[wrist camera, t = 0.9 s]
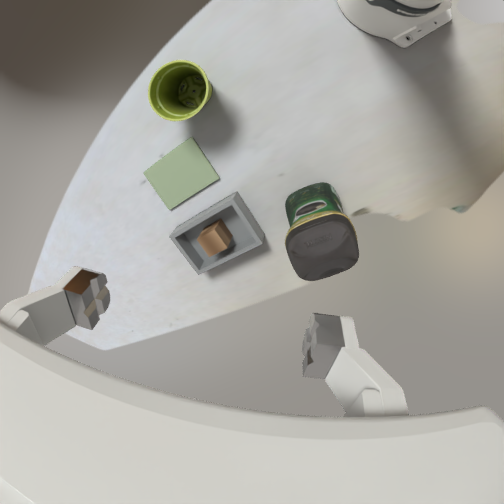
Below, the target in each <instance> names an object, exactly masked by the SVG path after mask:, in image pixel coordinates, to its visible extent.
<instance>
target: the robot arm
mask: <svg viewBox="0 0 504 504" xmlns="http://www.w3.org/2000/svg"><path fill="white" fill-rule="evenodd" d="M503 1H504V0H503ZM337 2H338V5H339V7H340V9H341V11H342V12H343V14H344V15H345V16H346V17H347V18H348V19H349V20H350V21H351V22H352V23H353V24H354V25H355V26H357V27H358V28H360V29H361V30H363V31H365V32H367V33H369V34H372V35H375V36H378V37H382V38H386V39H388V40H390V41H392V42H393V43H395V44H396V45H398V46H400V47H402V48H406V47H408V46H410V45H411V44H413V43H414V42H416V41H417V40H419V39H421V38H422V37H424V36H426V35H427V34H429V33H430V32H432V31H434V30H435V29H437V28H439V27H441V26H442V25H444V24H446V23H447V22H449V21H450V20H452V13H451V9H450V8H451V6H452V4H451V0H337ZM406 37H408V38H409V40H407V39H406ZM106 283H107V279H106V275H105V274H103V273H101V272H97V271H93V270H90V269H86V268H82V267H78V266H74V267H72V268H71V269H70V270H69V271H68V272H67V273H66V274H65V275H64V276H63V277H62V278H61V279H60V280H59V281H58V282H57V283H56V284H55V285H54V286H48V287H46V288H43V289H41V290H38V291H35V292H33V293H30V294H28V295H25V296H23V297H20V298H18V299H15V300H13V301H10V302H8V303H7V304H6V306H5V307H4V308H3V309H2V310H1V311H0V504H504V421H503V420H502V419H501V418H500V417H499V416H498V415H497V414H496V413H495V412H494V411H493V410H492V409H490V408H489V407H487V406H483V405H480V406H474V407H469V408H463V409H457V410H451V411H445V412H437V413H429V414H419V415H409V413H408V408H407V405H406V400H405V396H404V392H403V389H402V388H401V387H400V386H399V385H398V384H397V383H396V381H394V379H393V378H391V377H390V375H389V374H388V373H387V372H386V371H385V370H384V369H383V368H382V367H381V366H380V365H379V364H378V363H377V362H376V361H375V360H374V359H373V358H372V357H371V356H370V355H369V354H368V353H367V352H366V351H365V350H364V349H360V347H359V343H358V338H357V334H356V330H355V325H354V321H353V318H352V317H346V316H334V315H326V314H318V313H312V315H311V317H310V320H309V324H310V327H309V328H308V329H307V330H306V332H305V335H304V340H303V348H302V352H303V355H304V356H305V358H304V360H303V377H311V378H320V379H325V381H326V383H327V384H328V386H329V387H330V389H331V390H332V392H333V393H334V395H335V397H336V398H337V399H338V401H339V402H340V404H341V406H342V407H343V409H344V410H345V412H346V414H345V415H344V417H322V416H306V415H294V414H283V413H274V412H266V411H258V410H252V409H245V408H238V407H233V406H227V405H222V404H217V403H212V402H207V401H202V400H198V399H193V398H188V397H185V396H181V395H176V394H173V393H169V392H165V391H162V390H158V389H155V388H151V387H148V386H145V385H141V384H138V383H135V382H132V381H129V380H126V379H123V378H120V377H117V376H114V375H111V374H108V373H106V372H103V371H101V370H98V369H95V368H93V367H90V366H88V365H85V364H83V363H80V362H78V361H76V360H73V359H71V358H69V357H66V356H64V355H62V354H60V353H57V352H55V351H53V350H51V349H49V348H47V347H45V346H44V345H46V344H47V343H49V342H51V341H52V340H54V339H55V338H57V337H59V336H61V335H62V334H64V333H65V332H67V331H69V330H70V329H72V328H74V327H75V326H76V325H78V326H81V327H84V328H87V329H90V330H93V328H94V327H95V325H96V324H97V322H98V321H99V320H100V318H99V315H100V314H102V313H105V311H106V310H107V308H108V306H109V303H110V293H109V290H108V289H107V287H106V286H105V285H106Z"/></svg>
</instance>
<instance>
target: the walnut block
mask: <svg viewBox="0 0 504 504" xmlns="http://www.w3.org/2000/svg"><path fill="white" fill-rule="evenodd" d="M232 236H233V235H232V234H231V232H230V231H229V229H228V228H227V226H226V225H225V223H224V222H223V220H222V219H219V220H217V221H215V222H213V223H212V224H210V225H208V226H206V227H205V228H204V229H203V230H202V232H201V234H200V235H199V237H198V238H197V241H198V242H199V244H200V245H201V246H202V248H203V249H204V250H205V252H206V253H207V254H208V256H209V257H211V256H213V255H215V254H217V253H219V252H221V251H223V250H225V249H227V248H228V246H229V243H230V241H231V238H232Z"/></svg>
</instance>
